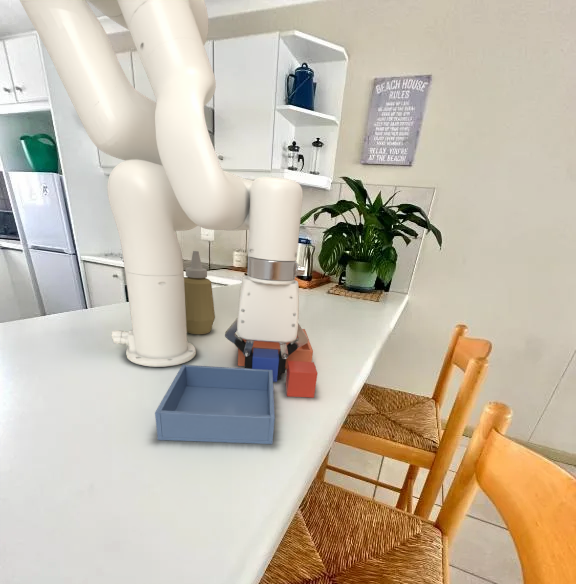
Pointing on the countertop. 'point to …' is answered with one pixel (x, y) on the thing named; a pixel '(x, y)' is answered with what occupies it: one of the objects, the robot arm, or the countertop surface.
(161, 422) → the blue bin
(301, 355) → the red bin
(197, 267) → the squeeze bottle
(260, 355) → the blue block
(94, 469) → the countertop surface
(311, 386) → the red block
